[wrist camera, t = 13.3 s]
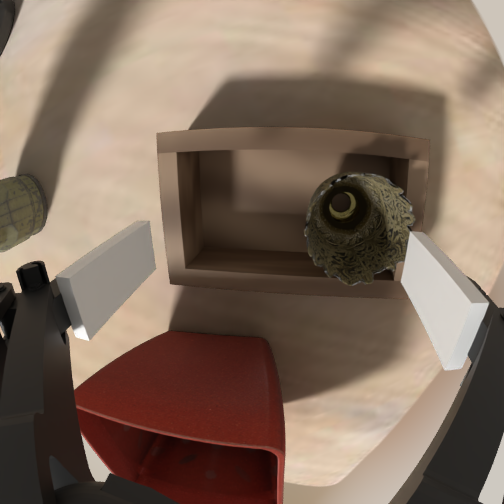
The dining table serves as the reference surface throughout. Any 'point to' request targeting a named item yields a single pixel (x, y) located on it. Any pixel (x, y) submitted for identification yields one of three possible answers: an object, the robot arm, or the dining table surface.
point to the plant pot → (190, 418)
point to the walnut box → (271, 203)
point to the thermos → (20, 210)
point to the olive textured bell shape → (358, 227)
